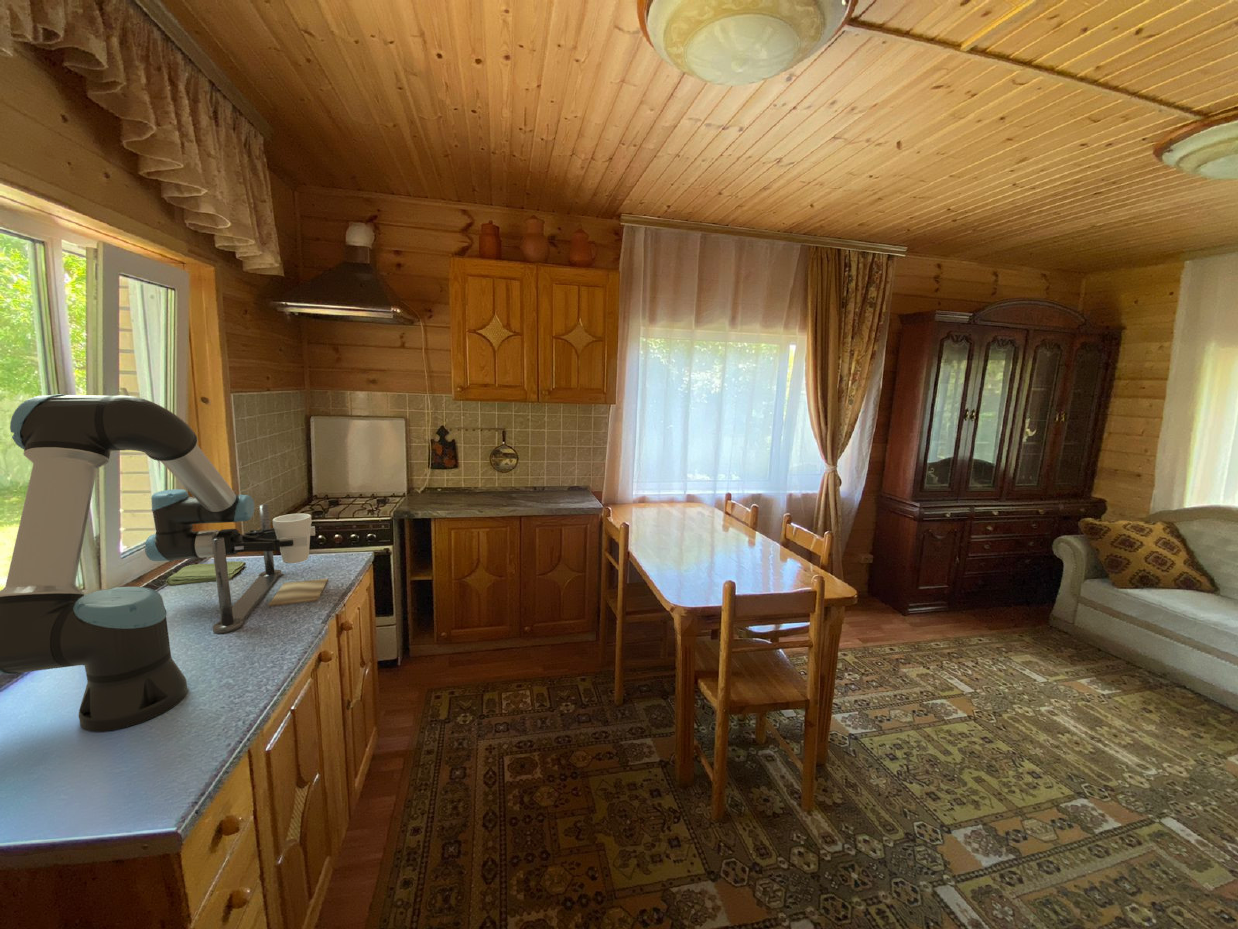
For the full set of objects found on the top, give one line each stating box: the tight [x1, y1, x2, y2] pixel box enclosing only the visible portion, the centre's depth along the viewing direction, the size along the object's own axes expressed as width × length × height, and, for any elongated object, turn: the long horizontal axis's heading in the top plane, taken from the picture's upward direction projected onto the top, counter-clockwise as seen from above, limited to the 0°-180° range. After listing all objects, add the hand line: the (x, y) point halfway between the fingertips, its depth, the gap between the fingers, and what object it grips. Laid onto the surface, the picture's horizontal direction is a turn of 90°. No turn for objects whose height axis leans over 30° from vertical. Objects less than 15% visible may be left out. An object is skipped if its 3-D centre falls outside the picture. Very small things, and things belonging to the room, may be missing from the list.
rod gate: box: [212, 503, 282, 635], centre depth 141 cm, size 42×6×24 cm, turn 21°
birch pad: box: [268, 578, 329, 607], centre depth 148 cm, size 16×12×1 cm
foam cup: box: [272, 512, 313, 564], centre depth 144 cm, size 10×9×13 cm
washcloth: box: [165, 561, 246, 586], centre depth 159 cm, size 13×18×3 cm
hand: (311, 535), depth 146 cm, fingers closed on foam cup, 9 cm apart
